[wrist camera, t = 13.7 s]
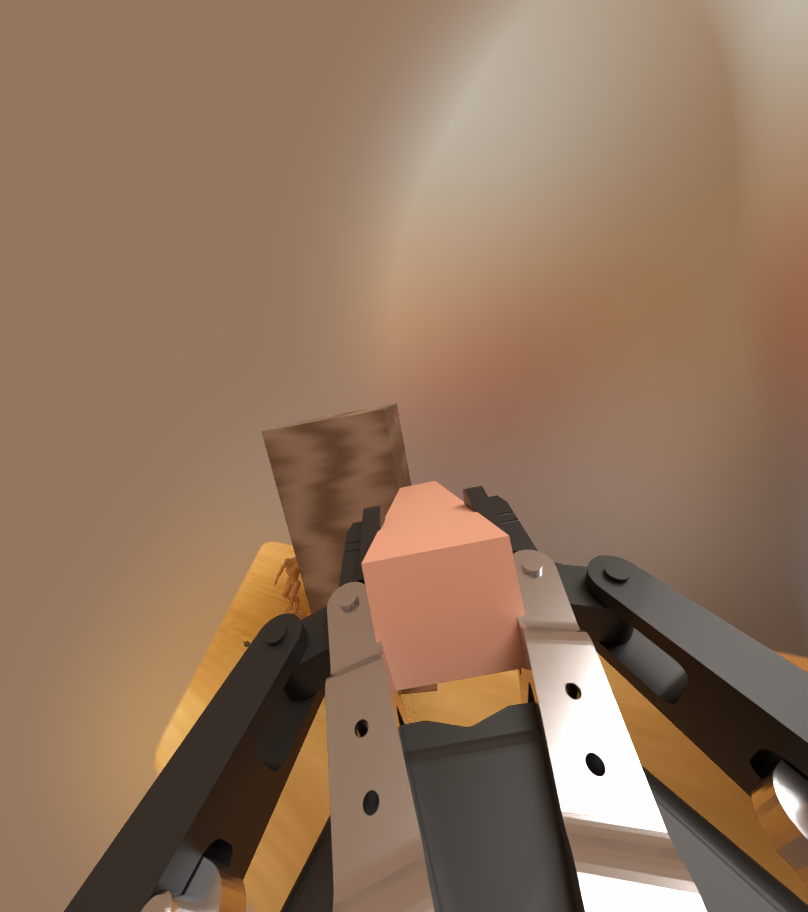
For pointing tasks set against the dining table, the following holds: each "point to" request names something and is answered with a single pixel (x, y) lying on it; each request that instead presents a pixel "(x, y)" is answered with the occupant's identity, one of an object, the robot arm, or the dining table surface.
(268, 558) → the dining table surface
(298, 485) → the walnut pedestal
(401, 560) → the terracotta bar
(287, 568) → the figurine
